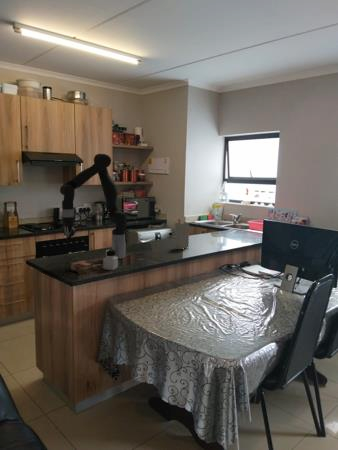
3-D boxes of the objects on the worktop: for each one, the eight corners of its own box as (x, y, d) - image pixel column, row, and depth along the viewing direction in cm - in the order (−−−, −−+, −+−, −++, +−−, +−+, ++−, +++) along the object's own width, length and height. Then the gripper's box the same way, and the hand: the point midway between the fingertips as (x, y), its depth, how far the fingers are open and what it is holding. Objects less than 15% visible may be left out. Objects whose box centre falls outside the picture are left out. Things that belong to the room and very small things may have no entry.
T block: (83, 266, 232) (83, 260, 232) (94, 269, 226) (94, 263, 225) (70, 269, 224) (70, 263, 224) (82, 272, 218) (82, 266, 217)
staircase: (188, 248, 296) (189, 218, 292) (179, 250, 287) (180, 219, 283) (181, 247, 301) (182, 217, 297) (172, 249, 292) (173, 218, 289)
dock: (93, 266, 232) (93, 262, 232) (102, 268, 227) (102, 264, 227) (72, 271, 219) (72, 267, 218) (80, 274, 214) (80, 269, 213)
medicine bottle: (117, 267, 232) (118, 249, 230) (113, 270, 225) (113, 251, 223) (107, 266, 233) (107, 248, 231) (103, 269, 226) (103, 250, 225)
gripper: (79, 216, 228) (80, 242, 230) (66, 214, 235) (67, 240, 238) (69, 217, 222) (70, 244, 225) (56, 215, 230) (58, 241, 232)
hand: (69, 242), depth 231 cm, fingers closed
